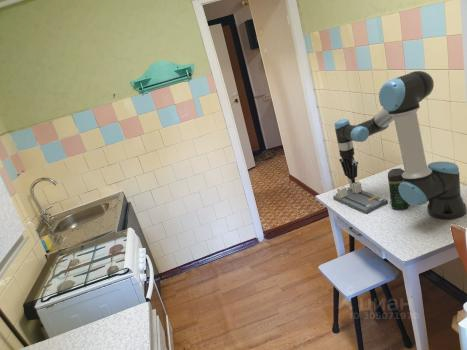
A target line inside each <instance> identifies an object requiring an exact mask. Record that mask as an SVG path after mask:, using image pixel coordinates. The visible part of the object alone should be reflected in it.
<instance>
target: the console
mask: <svg viewBox="0 0 467 350" xmlns="http://www.w3.org/2000/svg"><path fill="white" fill-rule="evenodd" d="M347 194H348V196H345V197H343V198H340V197H338V192H336V193H335V195H333V196H332V198H333V200H334V201H336V202H338V203H340V204H343V205H345V206H347V207H350V208H352V209H354V210H357V211H358V212H360V213H362V214H364V215H368V214H369V213H372V212H373V211H375V210H377V209H380V208H382V207H385V206H387V204H389V203H388V202H389V200H388V199H387V198H383V197H381V196H379V195H375V194H373V193H371V192H367V191H365V190H363V189H362V191H361V192H359V193H357V194H356V193H353V191H352V189H350V186H348V187H347Z"/></svg>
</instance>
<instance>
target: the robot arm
mask: <svg viewBox="0 0 467 350" xmlns="http://www.w3.org/2000/svg"><path fill="white" fill-rule="evenodd" d="M433 90H434V79H433V77H432V76H431V75H430V74H429V73H427V72H426V71H422V70H414V71H412V72H409V73H407V74H403V75H401V76H398V77H395V78H392V79H390V80H389V81H388V80H387V81H386V82H385V83H383V84H382V86H381V87H380V89H379V92H378V100H379V104H380V106H381V107H382V109H381V110H380V111H378V113H377V114H376V115H374V116H373V117H372V118H370V119H369V120H365V121H362V122H361V123H358V124H351V123H350V120H349V119H348V118H342V119H338V120H336V121H335V122H334V131H335V135H336V140H337V147H338V151H339V156H340V157H341V158H339V159H338V161H339V163H340V165H341V167H342V171H343V173H344V177H346V178H347V180H348V183H349V184H348V185H349V187H350V189H352V185H351V184H353V183H355V182H356V178H357V177H358V166H359V165H358V164H359V161H356V160H355V157H354V155H355V148H354V142H356V143H357V142H358V143H362V142H366V141H367V139H368V138H369V137H371V136H373V135H375V134H378V133H380V132H383V131H384V130H385V131H386V129H388V128H389V127H390V124H391V123H392V122H394V126H395V129H396V130H395V131H396V135H397V140H398V146H399V150H400V154H401V160H402V163H403V164H402V165H403V170H404V173H403V174H402V179H403V182H402V183H400V185H399V187H398V190H399V193H400V195H401V197H402V198H403V199H404V200H405V201H406V202H407V203H408V204H409V205H411V206H413V207H414V206H415V207H419V206H421V205H425V204H427V203H428V204H427V207H426V208H427V213H428V215H429V216H431V217H433V218H436V219H440V220H453V219H454V220H455V219H458V218H461V217H463V216H464V215H466V213H467V205H466V204H465V202H464V199H463V197H462V195H461V180H460V170H459V166H458V165H457V164H456V163H455V162H450V161H435V162H431V163H429V164H427V160H426V156H425V150H424V144H423V139H422V135H421V134H422V133H421V129H420V124H419V119H418V114H417V112H418V111H419V110H420V107H421V105H420V102H422V101H423V100H424V99H426V98H427V97H428V96H430V95H431V94H432V92H433Z"/></svg>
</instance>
